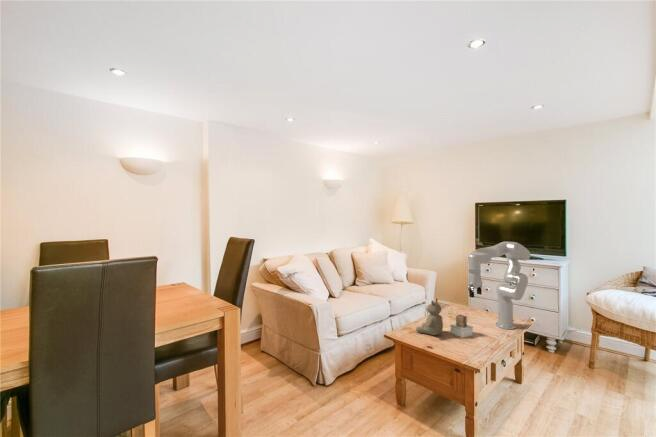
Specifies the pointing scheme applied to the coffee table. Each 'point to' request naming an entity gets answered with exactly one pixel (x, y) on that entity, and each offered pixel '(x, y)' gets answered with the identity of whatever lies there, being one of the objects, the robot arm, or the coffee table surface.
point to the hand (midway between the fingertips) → (475, 295)
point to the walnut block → (461, 320)
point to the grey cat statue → (432, 320)
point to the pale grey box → (461, 330)
